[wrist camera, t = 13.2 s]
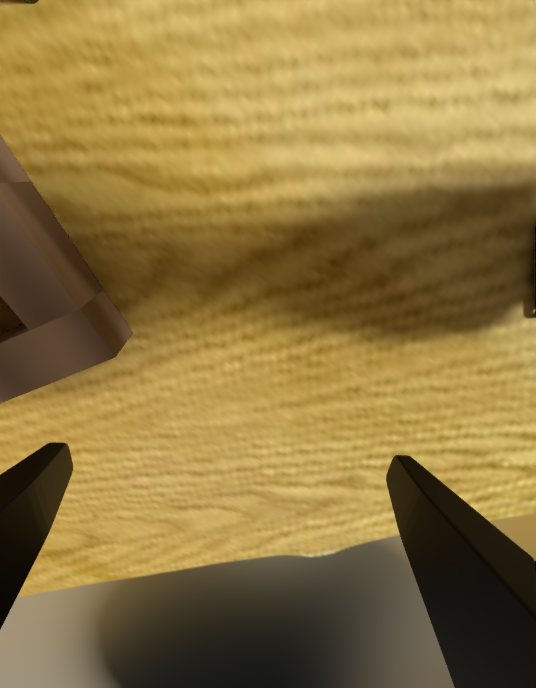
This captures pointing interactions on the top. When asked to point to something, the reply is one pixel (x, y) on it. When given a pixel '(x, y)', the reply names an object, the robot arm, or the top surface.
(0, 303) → the terracotta dowel
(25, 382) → the brown square frame
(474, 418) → the top surface
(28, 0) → the multiport hub
